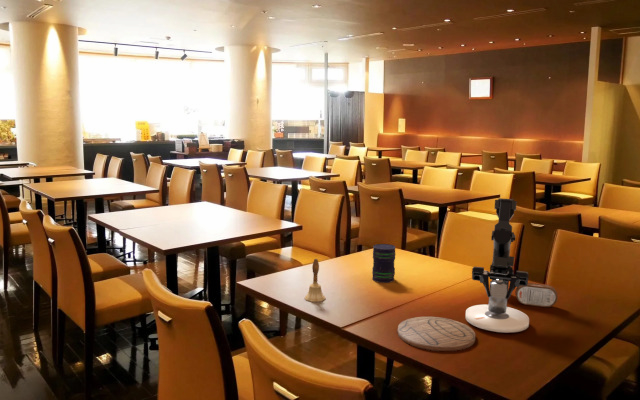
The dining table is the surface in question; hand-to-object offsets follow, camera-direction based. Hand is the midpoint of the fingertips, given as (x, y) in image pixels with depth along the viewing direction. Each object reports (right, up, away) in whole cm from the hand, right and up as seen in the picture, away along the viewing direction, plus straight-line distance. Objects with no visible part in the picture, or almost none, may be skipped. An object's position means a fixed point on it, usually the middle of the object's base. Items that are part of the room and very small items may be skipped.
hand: (498, 297), depth 183 cm
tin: (+22, -7, +21) cm, 31 cm away
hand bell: (-63, -5, +26) cm, 69 cm away
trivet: (-23, -11, -8) cm, 27 cm away
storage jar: (-33, -2, +51) cm, 61 cm away
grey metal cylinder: (0, -5, +2) cm, 5 cm away
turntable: (0, -9, +3) cm, 10 cm away
